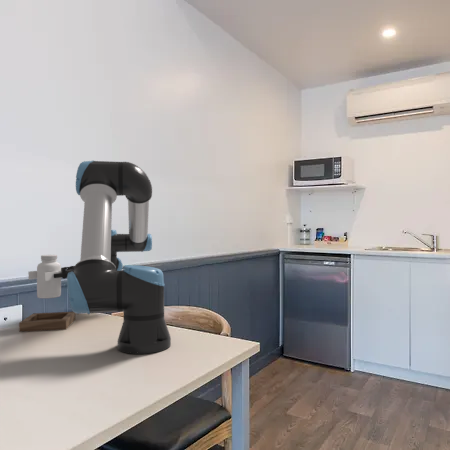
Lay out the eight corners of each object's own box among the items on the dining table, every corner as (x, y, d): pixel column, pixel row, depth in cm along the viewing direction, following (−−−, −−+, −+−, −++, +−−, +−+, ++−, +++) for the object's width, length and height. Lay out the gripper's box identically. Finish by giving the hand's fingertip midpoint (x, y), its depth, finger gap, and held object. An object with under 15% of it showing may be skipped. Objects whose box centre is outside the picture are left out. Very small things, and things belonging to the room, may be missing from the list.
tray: (66, 329, 138) (65, 320, 138) (19, 331, 136) (19, 322, 136) (75, 319, 153) (75, 311, 153) (33, 321, 151) (33, 313, 151)
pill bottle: (55, 298, 141) (55, 255, 141) (32, 299, 141) (32, 256, 141) (65, 294, 149) (64, 254, 149) (43, 295, 149) (42, 254, 149)
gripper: (107, 280, 155) (56, 289, 135) (71, 277, 166) (18, 285, 146) (107, 261, 155) (55, 266, 135) (71, 259, 166) (18, 264, 146)
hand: (36, 276), depth 141 cm, fingers closed on pill bottle, 8 cm apart
